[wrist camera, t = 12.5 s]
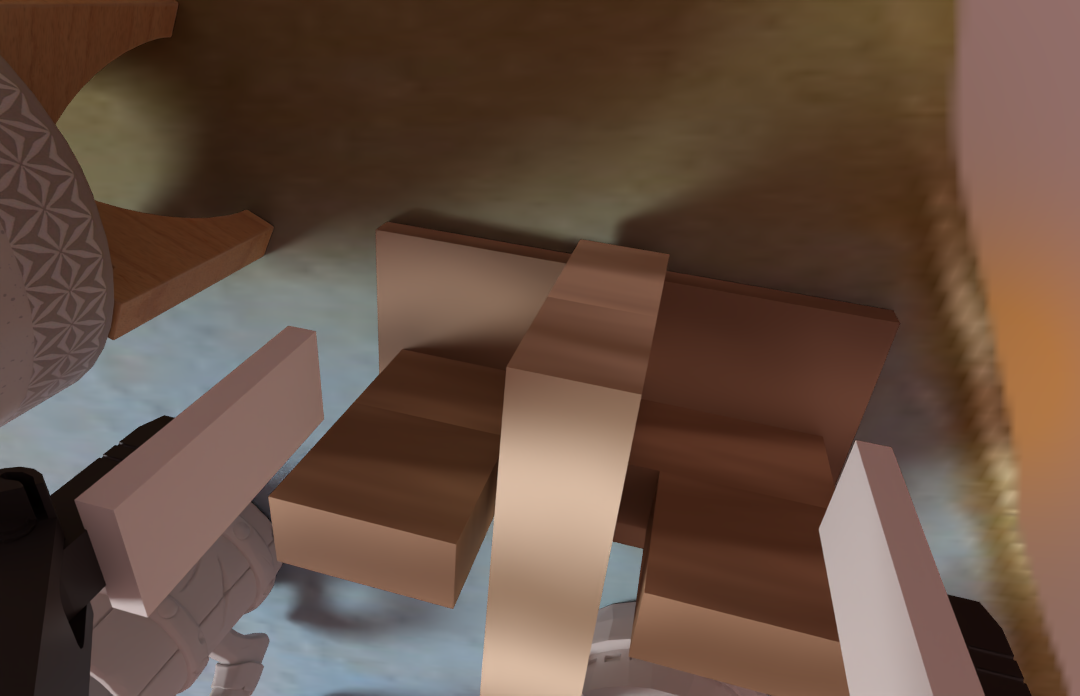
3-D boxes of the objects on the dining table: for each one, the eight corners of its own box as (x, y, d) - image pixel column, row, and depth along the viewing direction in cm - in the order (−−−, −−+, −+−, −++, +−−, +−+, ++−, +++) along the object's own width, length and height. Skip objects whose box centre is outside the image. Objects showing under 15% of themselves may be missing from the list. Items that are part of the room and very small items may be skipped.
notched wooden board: (580, 239, 22) (506, 367, 15) (669, 254, 22) (641, 394, 14) (541, 542, 29) (476, 739, 21) (608, 558, 29) (566, 766, 21)
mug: (250, 470, 33) (36, 685, 23) (341, 638, 38) (197, 880, 27) (137, 480, 35) (-104, 678, 25) (234, 637, 40) (66, 859, 30)
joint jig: (387, 221, 25) (211, 339, 16) (893, 310, 22) (1004, 511, 13) (391, 471, 31) (263, 655, 22) (792, 567, 28) (825, 823, 19)
